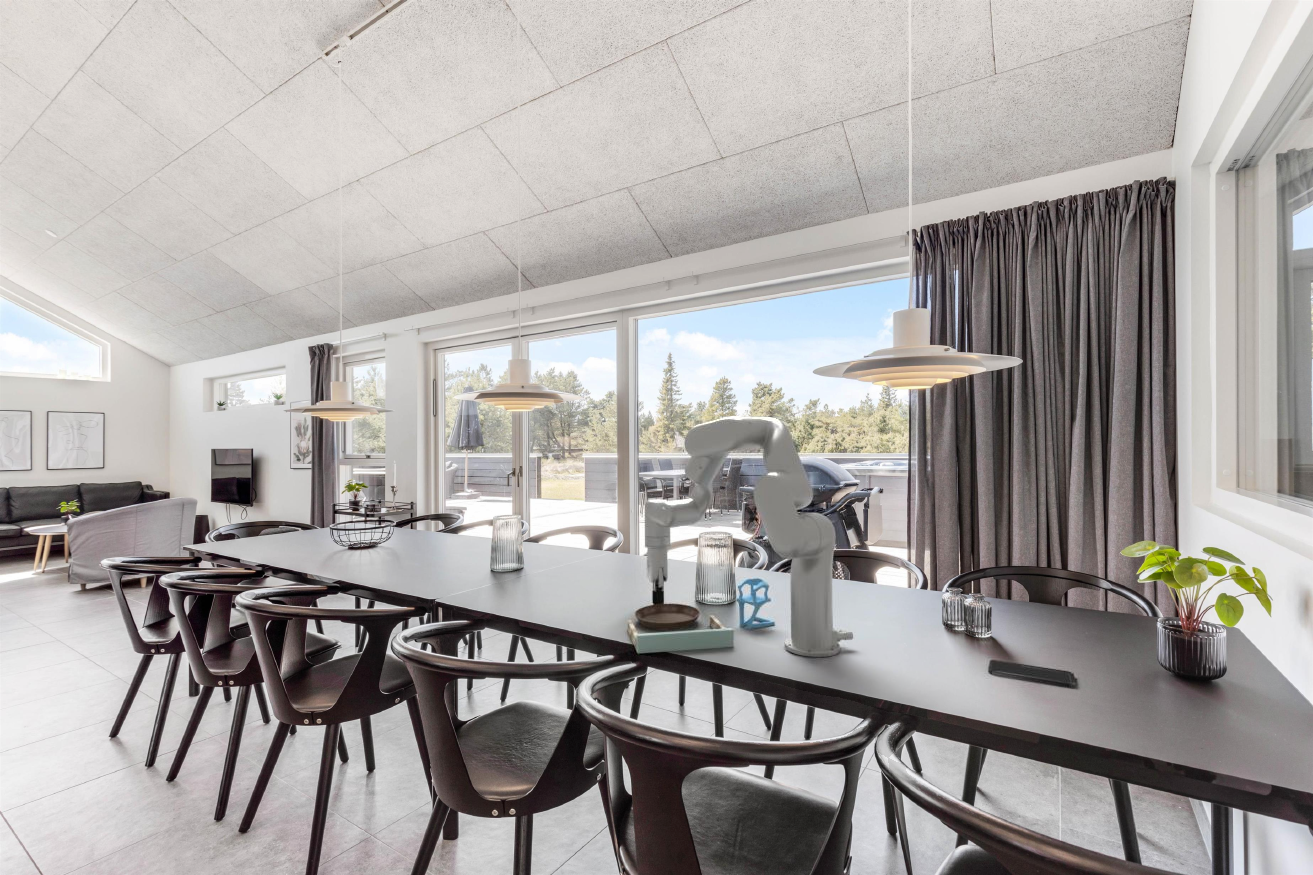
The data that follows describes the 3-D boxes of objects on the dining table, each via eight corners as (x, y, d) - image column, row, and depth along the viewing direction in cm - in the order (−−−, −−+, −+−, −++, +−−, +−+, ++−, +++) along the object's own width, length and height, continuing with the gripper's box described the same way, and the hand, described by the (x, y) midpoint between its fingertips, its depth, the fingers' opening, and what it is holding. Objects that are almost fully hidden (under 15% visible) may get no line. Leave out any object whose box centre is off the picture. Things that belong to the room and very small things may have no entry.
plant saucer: (664, 637, 153) (664, 625, 153) (621, 622, 167) (621, 611, 167) (713, 623, 165) (713, 612, 165) (670, 610, 178) (670, 600, 178)
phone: (1075, 684, 119) (987, 670, 127) (1075, 690, 119) (987, 675, 127) (1073, 671, 125) (990, 658, 133) (1073, 677, 125) (990, 663, 133)
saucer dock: (627, 630, 159) (627, 614, 159) (713, 624, 163) (713, 609, 163) (637, 653, 141) (637, 635, 141) (733, 646, 145) (733, 629, 145)
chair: (732, 625, 163) (731, 579, 163) (752, 618, 168) (751, 575, 169) (755, 631, 157) (754, 584, 157) (775, 624, 163) (774, 579, 163)
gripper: (641, 538, 187) (641, 598, 187) (649, 546, 172) (649, 611, 172) (665, 537, 188) (666, 597, 188) (675, 545, 174) (675, 610, 173)
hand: (658, 603), depth 180 cm, fingers closed
